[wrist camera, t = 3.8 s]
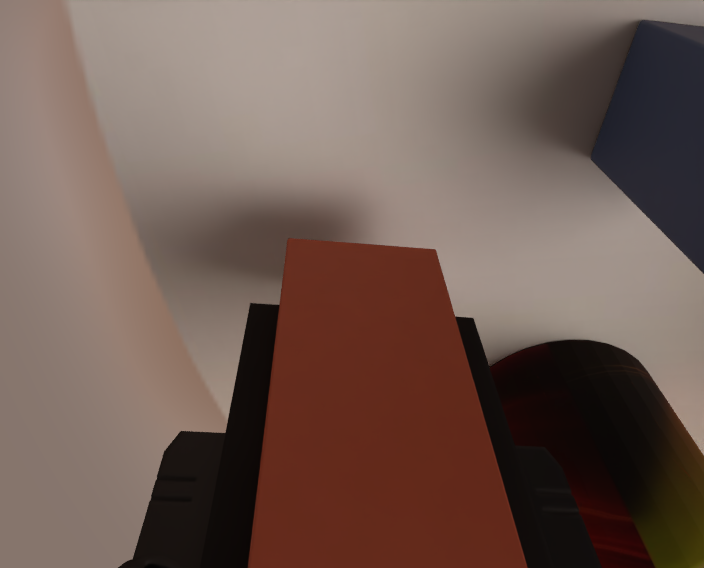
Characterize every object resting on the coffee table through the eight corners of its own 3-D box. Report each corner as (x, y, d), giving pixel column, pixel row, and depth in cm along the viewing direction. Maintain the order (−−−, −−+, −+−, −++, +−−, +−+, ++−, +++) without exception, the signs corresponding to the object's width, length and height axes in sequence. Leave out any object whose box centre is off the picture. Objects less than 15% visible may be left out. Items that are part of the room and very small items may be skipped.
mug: (475, 534, 29) (536, 805, 20) (438, 365, 22) (506, 661, 14) (644, 506, 28) (784, 777, 19) (659, 320, 21) (881, 608, 13)
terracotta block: (287, 237, 15) (235, 660, 7) (436, 248, 15) (557, 665, 7) (281, 350, 17) (238, 770, 9) (411, 358, 18) (481, 769, 9)
